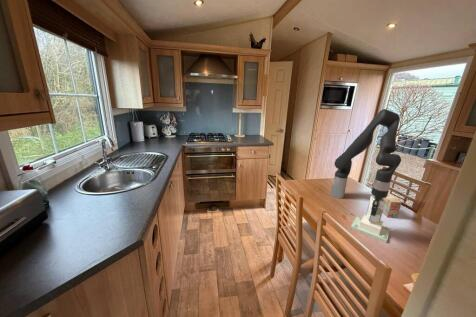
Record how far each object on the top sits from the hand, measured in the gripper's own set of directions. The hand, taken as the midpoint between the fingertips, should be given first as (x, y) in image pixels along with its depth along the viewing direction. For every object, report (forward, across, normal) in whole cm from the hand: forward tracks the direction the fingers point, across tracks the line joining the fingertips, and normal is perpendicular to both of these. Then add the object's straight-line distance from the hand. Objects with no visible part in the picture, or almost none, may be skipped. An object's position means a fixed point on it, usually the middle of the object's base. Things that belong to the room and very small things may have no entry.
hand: (374, 212), depth 113 cm
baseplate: (+12, 0, 0) cm, 12 cm away
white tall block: (+5, 0, 0) cm, 5 cm away
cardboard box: (+12, -33, +2) cm, 35 cm away
